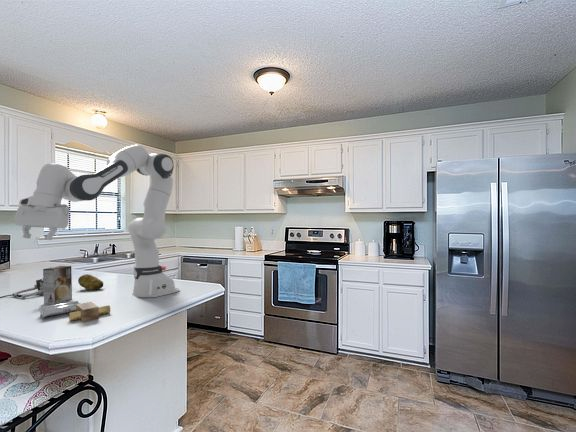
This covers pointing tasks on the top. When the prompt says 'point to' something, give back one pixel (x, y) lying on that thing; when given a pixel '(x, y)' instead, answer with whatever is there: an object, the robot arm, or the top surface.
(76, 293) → the top surface
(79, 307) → the slotted wooden block
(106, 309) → the axle
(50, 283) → the coffee box
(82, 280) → the potato
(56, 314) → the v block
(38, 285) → the bike brake
